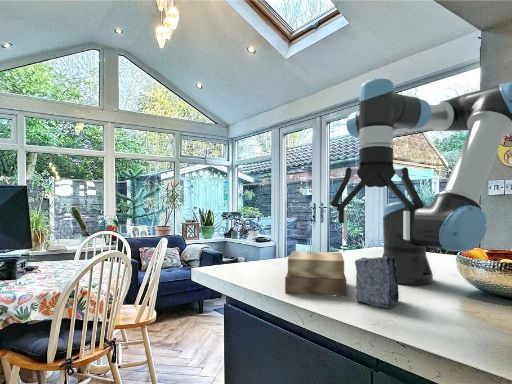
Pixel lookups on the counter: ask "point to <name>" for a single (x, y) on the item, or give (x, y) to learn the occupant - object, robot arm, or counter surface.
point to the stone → (377, 281)
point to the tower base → (315, 286)
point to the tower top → (316, 265)
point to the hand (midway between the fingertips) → (375, 238)
